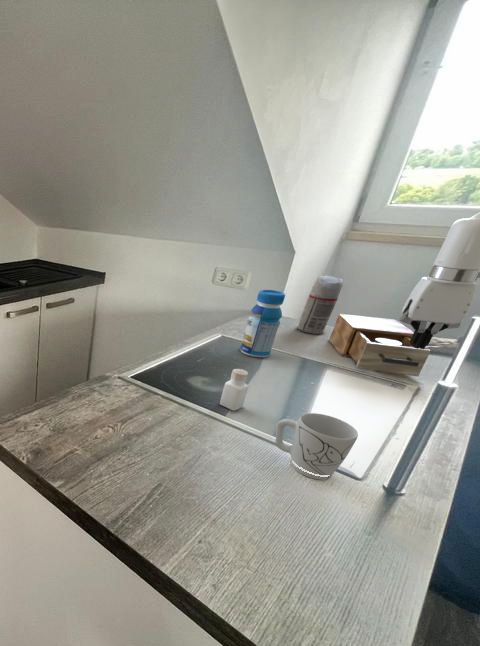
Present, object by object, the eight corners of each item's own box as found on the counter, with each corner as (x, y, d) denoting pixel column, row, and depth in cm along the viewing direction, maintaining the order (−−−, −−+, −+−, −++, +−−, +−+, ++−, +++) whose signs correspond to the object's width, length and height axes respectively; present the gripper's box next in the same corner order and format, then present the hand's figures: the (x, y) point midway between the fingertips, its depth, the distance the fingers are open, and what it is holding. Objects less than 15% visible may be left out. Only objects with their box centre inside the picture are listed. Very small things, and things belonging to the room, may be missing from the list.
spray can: (323, 329, 144) (343, 276, 135) (325, 336, 138) (346, 280, 129) (295, 325, 148) (313, 273, 140) (296, 332, 142) (315, 277, 133)
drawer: (426, 383, 103) (439, 357, 100) (362, 374, 109) (373, 348, 105) (397, 358, 118) (408, 334, 115) (343, 351, 123) (352, 328, 120)
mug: (259, 458, 77) (274, 416, 73) (276, 442, 82) (291, 402, 78) (329, 491, 69) (350, 445, 65) (344, 471, 74) (364, 427, 69)
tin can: (388, 358, 116) (397, 339, 113) (396, 365, 111) (405, 346, 109) (364, 354, 118) (372, 336, 115) (371, 362, 113) (379, 343, 111)
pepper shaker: (243, 407, 95) (253, 372, 91) (233, 412, 93) (244, 376, 89) (227, 400, 98) (236, 366, 94) (218, 404, 96) (227, 370, 92)
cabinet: (402, 364, 117) (416, 334, 113) (341, 355, 122) (353, 327, 118) (383, 347, 129) (395, 319, 125) (329, 340, 134) (339, 313, 130)
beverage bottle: (263, 360, 119) (283, 297, 111) (234, 352, 125) (251, 291, 117) (274, 353, 124) (293, 292, 116) (245, 345, 130) (262, 287, 122)
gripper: (486, 274, 91) (448, 346, 98) (403, 269, 97) (373, 337, 104) (507, 281, 85) (465, 357, 92) (417, 274, 90) (384, 347, 98)
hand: (416, 346), depth 98 cm, fingers closed
